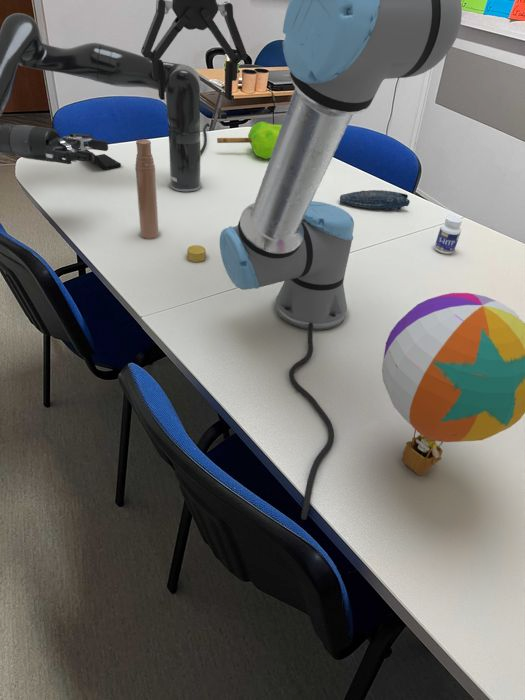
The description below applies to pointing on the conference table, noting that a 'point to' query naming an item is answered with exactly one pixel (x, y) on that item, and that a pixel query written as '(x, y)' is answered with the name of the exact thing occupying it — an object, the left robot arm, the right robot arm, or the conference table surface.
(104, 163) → the black angled piece
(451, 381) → the toy
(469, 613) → the conference table surface
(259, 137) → the decorative tree
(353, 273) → the conference table surface
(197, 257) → the cap
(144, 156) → the bottle
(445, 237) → the pill bottle
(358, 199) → the fish model
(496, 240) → the conference table surface
